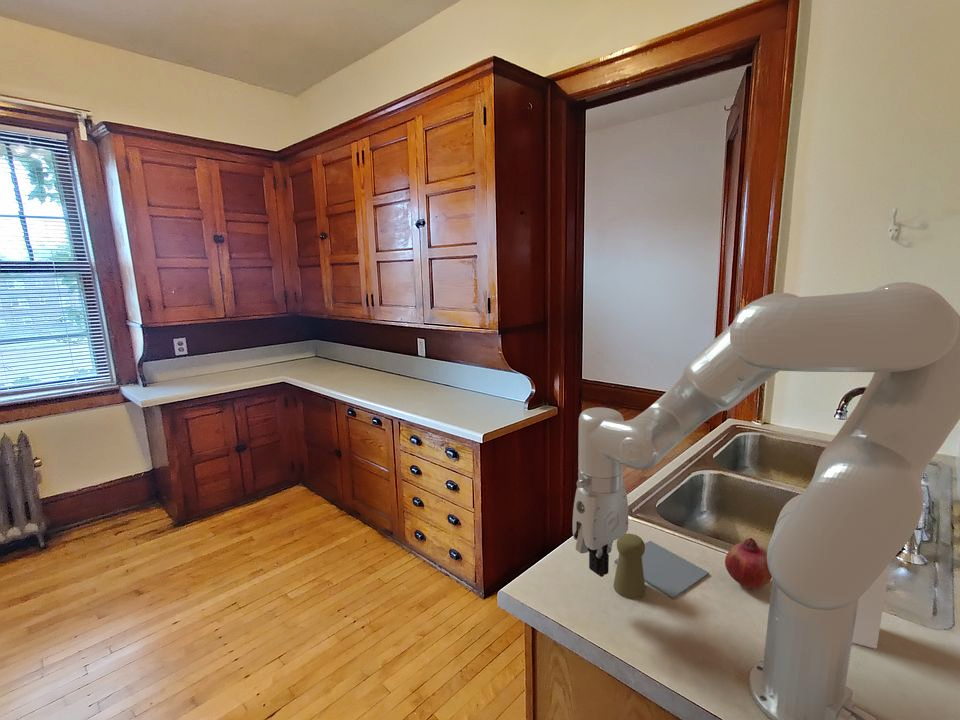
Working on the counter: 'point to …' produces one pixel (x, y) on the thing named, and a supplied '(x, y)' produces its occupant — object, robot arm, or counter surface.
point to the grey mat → (669, 571)
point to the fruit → (748, 564)
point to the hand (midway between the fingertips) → (598, 571)
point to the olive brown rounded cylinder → (630, 567)
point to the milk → (870, 612)
